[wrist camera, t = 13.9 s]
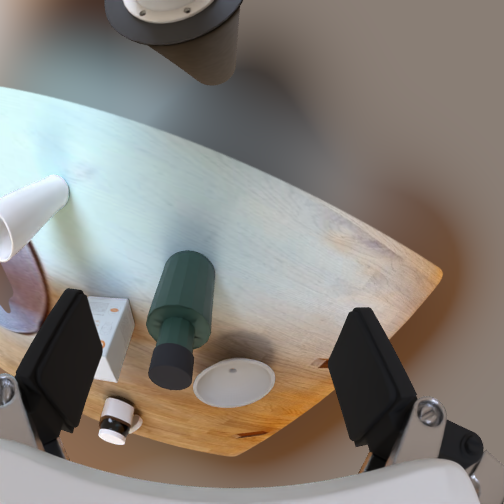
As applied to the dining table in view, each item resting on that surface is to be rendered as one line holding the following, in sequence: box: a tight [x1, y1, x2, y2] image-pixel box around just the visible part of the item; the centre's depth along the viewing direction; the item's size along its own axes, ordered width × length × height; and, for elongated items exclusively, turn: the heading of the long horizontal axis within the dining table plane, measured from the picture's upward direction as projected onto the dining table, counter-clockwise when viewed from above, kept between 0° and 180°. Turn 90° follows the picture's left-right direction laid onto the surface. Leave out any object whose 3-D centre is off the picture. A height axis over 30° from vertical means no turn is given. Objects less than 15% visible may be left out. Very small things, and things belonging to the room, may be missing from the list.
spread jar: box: [98, 396, 142, 445], centre depth 55 cm, size 12×11×12 cm
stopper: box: [148, 343, 194, 390], centre depth 28 cm, size 4×4×7 cm
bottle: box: [146, 251, 215, 353], centre depth 34 cm, size 8×8×16 cm
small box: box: [88, 296, 135, 383], centre depth 39 cm, size 8×6×13 cm
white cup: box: [0, 175, 69, 262], centre depth 27 cm, size 7×7×15 cm
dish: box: [193, 358, 275, 408], centre depth 51 cm, size 18×14×5 cm
